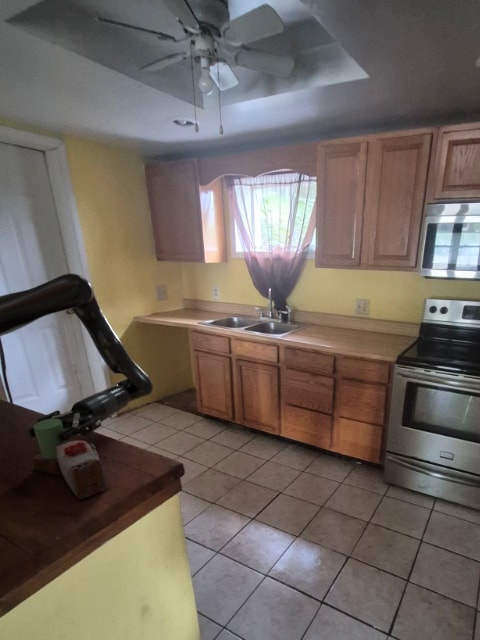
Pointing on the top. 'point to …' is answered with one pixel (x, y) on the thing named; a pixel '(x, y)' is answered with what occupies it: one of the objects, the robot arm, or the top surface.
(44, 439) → the green tin
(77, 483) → the food item
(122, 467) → the top surface
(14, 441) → the top surface
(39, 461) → the walnut block
